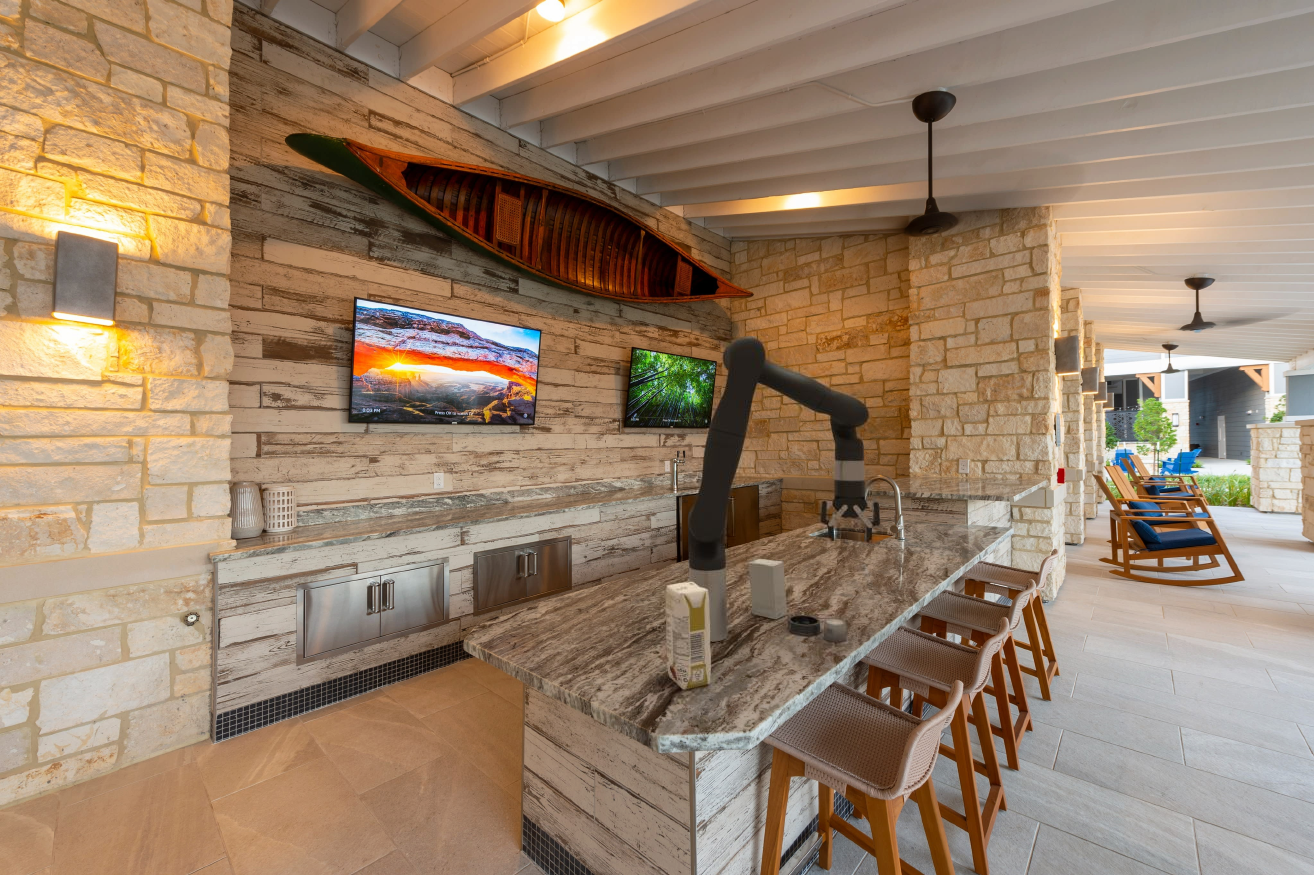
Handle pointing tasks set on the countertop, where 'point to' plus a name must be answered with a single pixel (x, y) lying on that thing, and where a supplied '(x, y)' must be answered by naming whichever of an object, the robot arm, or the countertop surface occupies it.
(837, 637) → the cap
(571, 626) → the countertop surface
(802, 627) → the black round dish
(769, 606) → the skincare box
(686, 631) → the juice carton
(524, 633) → the countertop surface
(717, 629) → the robot arm
